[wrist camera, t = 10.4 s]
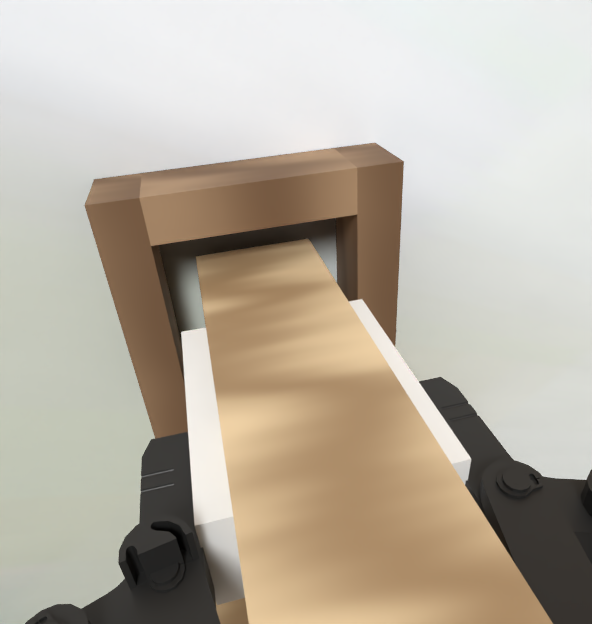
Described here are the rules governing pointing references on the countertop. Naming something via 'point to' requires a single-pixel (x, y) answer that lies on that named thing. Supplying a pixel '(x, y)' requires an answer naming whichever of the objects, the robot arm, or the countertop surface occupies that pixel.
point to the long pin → (338, 462)
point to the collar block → (233, 219)
